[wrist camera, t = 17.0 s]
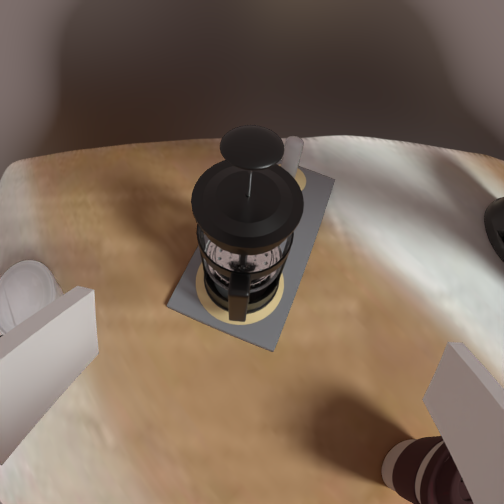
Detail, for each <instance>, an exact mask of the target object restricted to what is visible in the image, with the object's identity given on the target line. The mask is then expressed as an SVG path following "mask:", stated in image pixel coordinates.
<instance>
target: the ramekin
mask: <svg viewBox="0 0 504 504" xmlns="http://www.w3.org/2000/svg"><path fill="white" fill-rule="evenodd" d="M62 295H64V294H63V292H62V289H61V287H60V286H59V284H58V283H57V281H56V280H55V277H54V275H53V274H52V272H51V271H50V270H49V269H48V268H47V267H46V266H45V265H44V264H43V263H41V262H39V261H35V260H24V261H20V262H18V263H16V264H14V265H13V266H11V267H10V268H9V269H8V270H7V271H6V272H5V273H4V274H3V275H2V277H1V278H0V333H1V334H2V335H4V334H6V333H7V332H9V331H10V330H11V329H13V328H14V327H16V326H17V325H19V324H20V323H22V322H23V321H25V320H26V319H28V318H29V317H30V316H32V315H33V314H35V313H36V312H38V311H39V310H41V309H42V308H44V307H45V306H47V305H48V304H50V303H52V302H53V301H55V300H56V299H58V298H59V297H61V296H62Z"/></svg>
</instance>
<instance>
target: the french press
mask: <svg viewBox="0 0 504 504" xmlns="http://www.w3.org/2000/svg"><path fill="white" fill-rule="evenodd" d="M220 151H221V154H222V156H223V157H224V158H225V160H224V161H222V162H219V163H217V164H215V165H213V166H212V167H211V168H209V169H208V170H206V171H205V172H204V173H203V174H202V175H201V176H200V178H199V179H198V181H197V182H196V184H195V186H194V189H193V192H192V199H191V204H192V211H193V215H194V217H195V220H196V222H197V223H198V224H197V239H198V245H199V249H200V254H201V260H202V265H203V270H204V286H205V289H206V292H207V294H208V296H209V297H210V299H211V300H212V302H214V303H215V304H216V305H217V306H218V307H219V308H221V309H222V310H224V311H227V312H229V320H230V321H239V322H245V321H246V314H251V313H255V312H257V311H259V310H261V309H263V308H264V307H266V306H267V305H268V304H269V303H270V302H271V301H272V300H273V298H274V297H275V295H276V293H277V290H278V288H279V281H280V277H281V274H282V271H283V269H284V266H285V263H286V260H287V257H288V255H289V252H290V249H291V246H292V243H293V237H294V230H295V229H296V227H297V226H298V224H299V223H300V220H301V217H302V214H303V209H304V199H303V194H302V191H301V189H300V186H299V185H298V183H297V181H296V180H295V179H294V177H293V176H292V175H291V174H290V173H289V172H288V171H286V170H285V169H284V168H282V167H281V166H279V165H277V163H278V162H279V161H280V160H281V159H282V157H283V155H284V144H283V142H282V140H281V138H280V137H279V136H278V135H277V134H276V133H274V132H273V131H272V130H270V129H267V128H265V127H261V126H256V125H245V126H240V127H237V128H234V129H232V130H230V131H229V132H227V133H226V134H225V135H224V137H223V138H222V140H221V143H220ZM204 233H205V235H206V236H207V237H208V239H209V241H208V243H207V245H206V246H205V239H204ZM287 237H288V238H287ZM286 238H287V241H286V245H285V248H284V251H283V254H282V251H281V247H280V244H281V243H282V242H284V241H285V240H286ZM214 281H215V282H216V283H217V284H218V285H219V286H221V287H222V288H224V289H226V290H228V299H226V298H225V297H223V296H222V295H221V294H220V293H219V291H218V290H217V288H216V286H215V283H214ZM267 286H268V287H267ZM265 287H267V289H266V291H265V292H264V294H263V295H262V296H261V297H259V298H258V299H256V300H254V301H252V302H249V295H250V293H252V292H256V291H259V290H261V289H263V288H265Z"/></svg>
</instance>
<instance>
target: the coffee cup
mask: <svg viewBox="0 0 504 504" xmlns="http://www.w3.org/2000/svg"><path fill="white" fill-rule="evenodd" d="M382 478H383V480H384V482H385V484H386V485H387V486H388V487H389V488H391V489H392V490H394V491H396V492H397V493H398V494H399V495H400V496H401V497H403V498H404V499H406V500H408V501H410V502H412V503H413V504H474V503H473V501H472V499H471V496H470V494H469V492H468V490H467V488H466V485H465V483H464V481H463V479H462V477H461V475H460V473H459V470H458V468H457V466H456V464H455V462H454V460H453V458H452V456H451V454H450V452H449V450H448V448H447V446H446V444H445V442H444V440H443V438H442V436H437V437H425V438H421V439H411V440H405V441H403V442H400V443H398V444H397V445H396V446H394V447H393V448H392V449H391V450H390V451H389V452H388V454H387V455H386V457H385V459H384V462H383V465H382Z"/></svg>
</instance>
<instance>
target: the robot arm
mask: <svg viewBox="0 0 504 504" xmlns="http://www.w3.org/2000/svg"><path fill="white" fill-rule="evenodd" d="M485 226H486V231H487V234H488V237H489V239H490V242H491V244H492V246H493V247H494V249H495V251H496V252H497V254H498V255H499V256H500V258H501V259H502V260H503V261H504V197H502V198H498V199H496V200H495V201H494V202H493V203H492V204H491V205H490V206H489V207H488V208H487V210H486V212H485ZM98 354H99V351H98V340H97V329H96V314H95V295H94V290H93V289H89V288H85V287H81V286H76V287H75V288H73V289H72V290H70V291H69V292H67V293H65V294H64V295H62V296H61V297H59V298H58V299H56V300H55V301H53V302H52V303H50V304H48V305H47V306H45V307H44V308H42V309H41V310H39V311H38V312H36V313H35V314H33V315H32V316H30V317H29V318H28V319H26V320H25V321H23V322H22V323H20V324H19V325H17V326H16V327H14V328H13V329H11V330H10V331H9V332H7V333H6V334H4V335H1V336H0V465H3V464H4V462H5V461H6V460H7V459H8V457H9V456H10V455H11V454H12V452H13V451H14V450H15V449H16V448H17V446H18V445H19V444H20V443H21V442H22V440H23V439H24V438H25V437H26V436H27V434H28V433H29V432H30V431H31V430H32V429H33V427H34V426H35V425H36V424H37V423H38V421H39V420H40V419H41V418H42V417H43V416H44V414H45V413H46V412H47V411H48V410H49V409H50V408H51V406H52V405H53V404H54V403H55V402H56V401H57V399H58V398H59V397H60V396H61V395H62V394H63V393H64V392H65V390H66V389H67V388H68V387H69V386H70V385H71V384H72V383H73V381H74V380H75V379H76V378H77V377H78V376H79V375H80V374H81V372H82V371H83V370H84V369H85V368H86V367H87V366H88V365H89V364H90V363H91V361H92V360H93V359H94V358H95V357H96V356H97V355H98ZM422 400H423V402H424V404H425V405H426V407H427V409H428V411H429V413H430V415H431V417H432V419H433V421H434V422H435V424H436V426H437V428H438V430H439V432H440V434H441V436H442V438H443V440H444V442H445V444H446V446H447V448H448V450H449V452H450V454H451V456H452V458H453V460H454V462H455V464H456V466H457V468H458V470H459V473H460V475H461V477H462V479H463V481H464V483H465V485H466V488H467V490H468V492H469V494H470V496H471V499H472V501H473V503H474V504H504V389H503V387H502V386H501V385H500V384H499V383H498V382H497V380H496V379H495V378H494V377H493V376H492V375H491V373H490V372H489V371H488V370H487V369H486V368H485V367H484V366H483V364H482V363H481V362H480V361H479V360H478V359H477V358H476V357H475V356H474V355H473V353H472V352H471V351H470V350H469V349H468V348H467V347H466V346H465V345H464V344H463V343H458V342H448V343H447V345H446V348H445V350H444V353H443V355H442V358H441V360H440V362H439V365H438V367H437V369H436V372H435V374H434V376H433V378H432V380H431V383H430V385H429V387H428V389H427V391H426V393H425V395H424V397H423V399H422Z"/></svg>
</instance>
